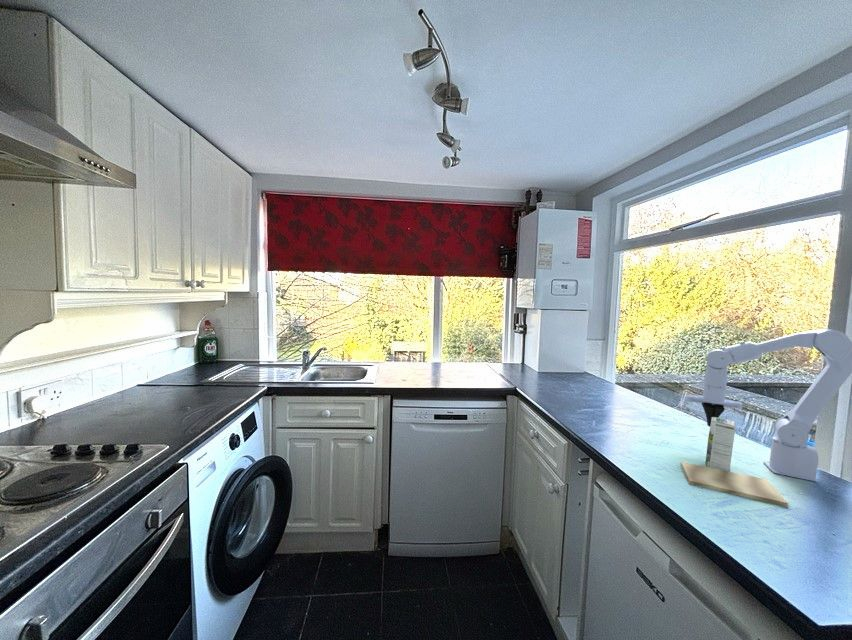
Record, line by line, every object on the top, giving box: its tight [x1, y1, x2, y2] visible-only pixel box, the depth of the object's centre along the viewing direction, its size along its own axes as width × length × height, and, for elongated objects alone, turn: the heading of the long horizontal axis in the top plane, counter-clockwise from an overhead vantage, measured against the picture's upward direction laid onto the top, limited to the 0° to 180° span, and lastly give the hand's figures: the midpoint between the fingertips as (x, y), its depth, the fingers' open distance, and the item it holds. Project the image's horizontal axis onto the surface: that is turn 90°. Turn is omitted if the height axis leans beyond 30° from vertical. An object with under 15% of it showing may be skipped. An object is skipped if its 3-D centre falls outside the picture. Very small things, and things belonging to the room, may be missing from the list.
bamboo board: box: [680, 461, 789, 508], centre depth 98 cm, size 20×13×1 cm, turn 63°
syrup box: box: [704, 417, 736, 472], centre depth 107 cm, size 6×6×14 cm
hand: (710, 425), depth 118 cm, fingers closed
